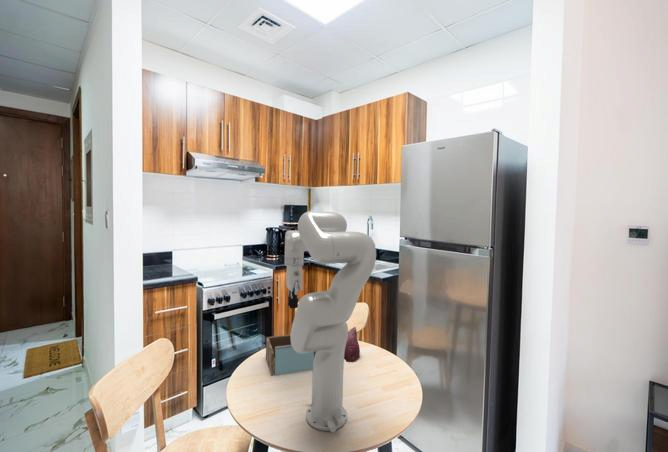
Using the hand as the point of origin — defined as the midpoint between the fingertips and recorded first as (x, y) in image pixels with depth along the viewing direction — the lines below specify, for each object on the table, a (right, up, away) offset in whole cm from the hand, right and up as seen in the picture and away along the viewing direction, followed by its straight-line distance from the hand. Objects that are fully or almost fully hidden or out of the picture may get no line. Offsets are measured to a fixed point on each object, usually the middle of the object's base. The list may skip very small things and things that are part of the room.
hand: (292, 306), depth 122 cm
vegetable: (+23, -26, +12) cm, 36 cm away
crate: (-1, -25, +2) cm, 25 cm away
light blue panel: (+1, -24, -5) cm, 25 cm away
